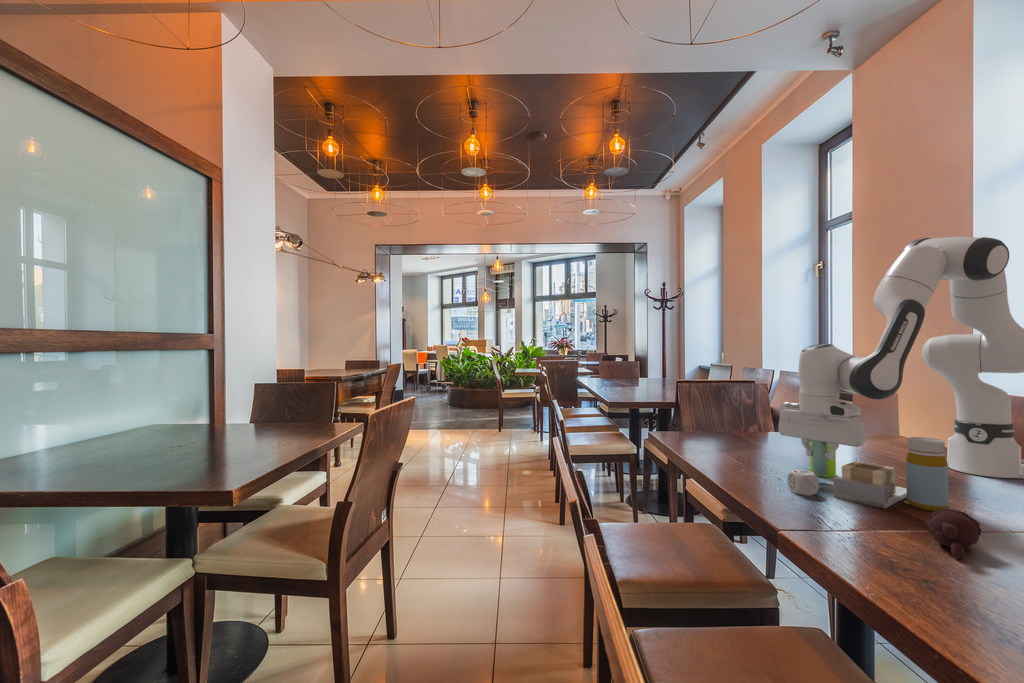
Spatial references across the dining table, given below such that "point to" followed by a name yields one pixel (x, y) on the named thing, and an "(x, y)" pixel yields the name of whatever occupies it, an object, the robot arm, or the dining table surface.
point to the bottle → (927, 474)
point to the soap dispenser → (830, 463)
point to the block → (871, 474)
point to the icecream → (954, 530)
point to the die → (803, 482)
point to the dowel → (819, 458)
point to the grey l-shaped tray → (867, 492)
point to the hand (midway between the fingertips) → (820, 457)
